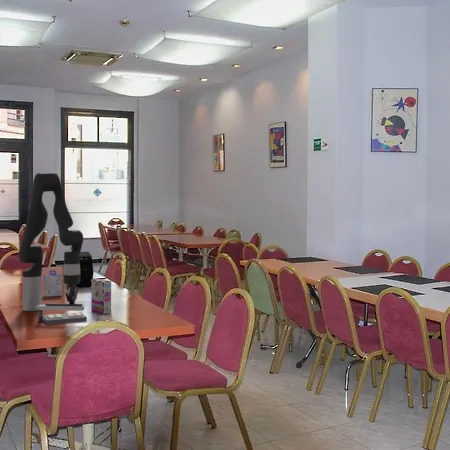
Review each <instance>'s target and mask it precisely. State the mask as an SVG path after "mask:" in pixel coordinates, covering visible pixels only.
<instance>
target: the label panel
mask: <svg viewBox="0 0 450 450" xmlns="http://www.w3.org/2000/svg"><path fill="white" fill-rule="evenodd" d="M43 321H44V323H45V324H46V325H47V326H48V325H58V324H59V325H60V324H71V323H82V322H87V321H88V317H87V316H86V315H85V314H84V313H83V311H78V312H77V311H75V312H69V313H68V312H66V313H52V314H43Z"/></svg>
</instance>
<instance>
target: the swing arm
mask: <svg viewBox="0 0 450 450" xmlns="http://www.w3.org/2000/svg"><path fill="white" fill-rule="evenodd" d="M38 310H43V311H66V312H67V311H70V312H71V311H73V312H77V311H78V312H83V311H84V310H85V304H84V305H83V303H75V304H69V303H52V302H51V303H47V302H46V303H45V304H42V305H37V311H38Z"/></svg>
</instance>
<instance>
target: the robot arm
mask: <svg viewBox="0 0 450 450" xmlns="http://www.w3.org/2000/svg"><path fill="white" fill-rule="evenodd" d="M60 179H61V178H60V176H59V174H58V173H56V172H55V171H47V172H46V171H45V172H37V173H36V174H35V175H34V177H33V182H32V192H31V200H30V204H29V209H28V214H27V219H26V223H25V224H26V225H25V228H24V234H23V238H22V241H21V243H20V247H19V250H18V260H19V262H20V263H22V264H32V265H31V266H30V267H28V268H26V269H24V270H23V271H22V311H24V312H25V311H26V312H36V311H37V312H38V310H37V305H43V292H42V291H43V286H42V283H43V281H42V278H43V277H42V273H43V248H42V246H41V244H32V243H33V242H34V240H35V239H36V238H37V237H38V236H39V235H40V234H41V233H42V232H43V231H44V229H46V226H47V223H48V222H47V221H48V218H49V217H48V216H49V214H48V210H47V208H46V206H45V204H44V202H43V195H44V193H46V192H53V194H54V197H55V198H54V199H55V200H54V205H53V211H52V212H53V217H54V219H55V221H56V224H57V226H58V227H57V228H58V236H59V241H60V243H61V244H62V245H63V246H65V247H69V246H70V249H68V250H66V251H64V254H63V271H62V272H63V274H62V277H63V284H64V285H67V287H66V291H65V298H66V301H67V303H68V304H76V300H77V299H78V292H79V288H77V287H76V284H79V283H80V252H82V248H83V243H84V235H83V233H82V231H81V230H79V229H74V230H73V229H72V230H70V228H71V227H72V226H74V220H73V218H72V216H71V214H70V212H69V208H68V206H67V203H66V199H65V195H64V190H63V187H62V182H61V180H60Z"/></svg>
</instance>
